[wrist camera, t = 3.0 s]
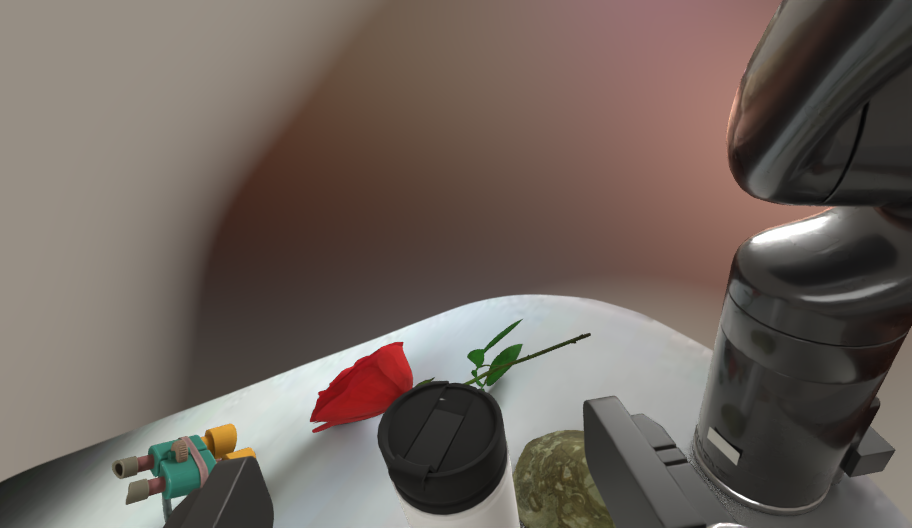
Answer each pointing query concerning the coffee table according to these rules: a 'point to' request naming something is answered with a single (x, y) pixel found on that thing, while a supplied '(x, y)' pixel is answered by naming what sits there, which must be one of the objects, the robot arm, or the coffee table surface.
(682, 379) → the coffee table surface
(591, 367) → the coffee table surface
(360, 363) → the flower
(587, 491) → the green rounded lump
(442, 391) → the travel mug
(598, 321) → the coffee table surface
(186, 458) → the binoculars
